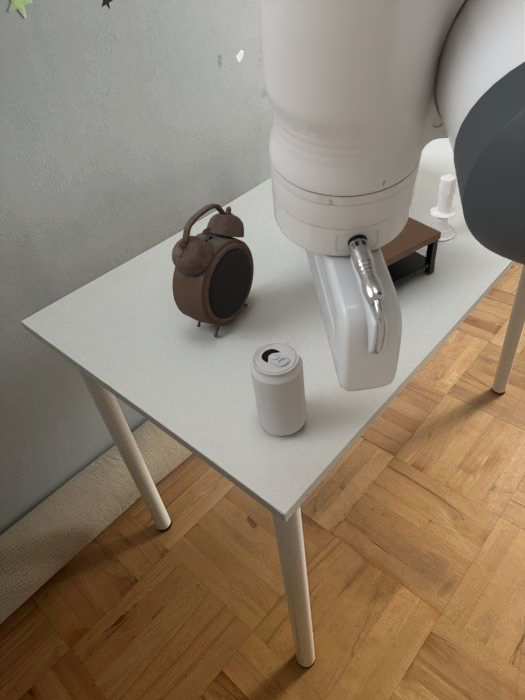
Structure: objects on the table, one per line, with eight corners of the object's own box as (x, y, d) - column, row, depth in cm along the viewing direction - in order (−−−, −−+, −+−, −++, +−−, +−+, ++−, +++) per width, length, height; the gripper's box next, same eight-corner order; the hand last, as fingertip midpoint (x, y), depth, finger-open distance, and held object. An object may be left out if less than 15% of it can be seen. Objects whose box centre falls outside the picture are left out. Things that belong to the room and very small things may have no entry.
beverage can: (281, 395, 71) (273, 331, 63) (316, 417, 68) (313, 353, 60) (250, 423, 68) (237, 360, 60) (285, 447, 65) (277, 384, 57)
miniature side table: (435, 272, 88) (443, 219, 81) (366, 310, 83) (368, 257, 76) (379, 241, 97) (382, 191, 90) (313, 274, 92) (311, 223, 85)
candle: (431, 224, 100) (439, 165, 92) (458, 230, 97) (469, 170, 89) (421, 237, 97) (428, 178, 89) (448, 244, 94) (459, 183, 86)
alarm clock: (217, 351, 80) (191, 241, 66) (182, 338, 83) (150, 230, 69) (266, 299, 88) (252, 192, 74) (232, 289, 91) (213, 184, 78)
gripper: (445, 306, 26) (405, 422, 38) (354, 95, 37) (344, 233, 49) (325, 325, 26) (321, 435, 38) (270, 107, 37) (280, 243, 49)
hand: (334, 319), depth 43 cm, fingers open, 8 cm apart
